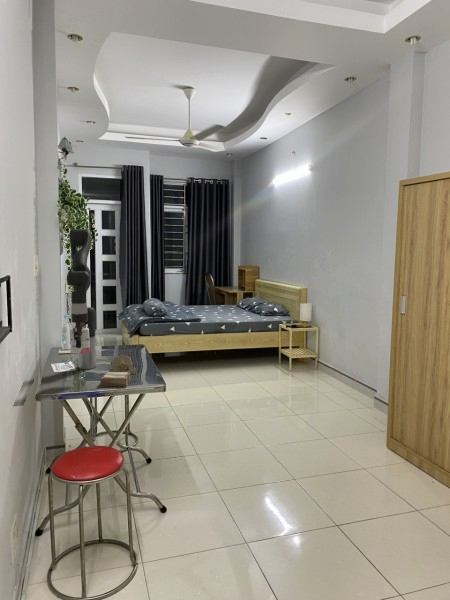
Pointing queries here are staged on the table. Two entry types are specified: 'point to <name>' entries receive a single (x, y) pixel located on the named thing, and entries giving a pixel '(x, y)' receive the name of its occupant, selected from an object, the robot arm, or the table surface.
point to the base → (115, 379)
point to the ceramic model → (122, 364)
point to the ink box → (84, 342)
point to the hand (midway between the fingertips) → (80, 346)
